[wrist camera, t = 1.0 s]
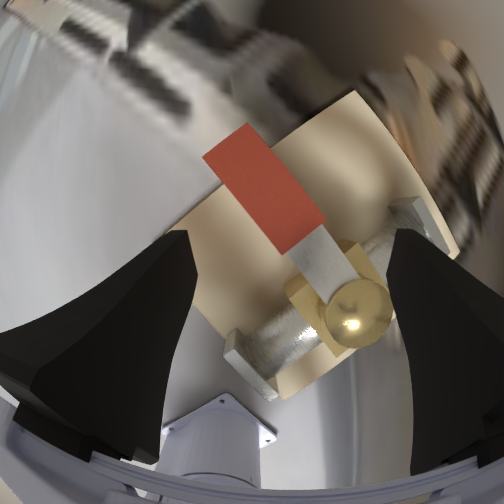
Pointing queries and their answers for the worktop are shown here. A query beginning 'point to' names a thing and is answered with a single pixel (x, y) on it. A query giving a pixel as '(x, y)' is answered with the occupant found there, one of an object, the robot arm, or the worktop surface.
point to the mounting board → (337, 224)
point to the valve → (308, 302)
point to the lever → (301, 237)
